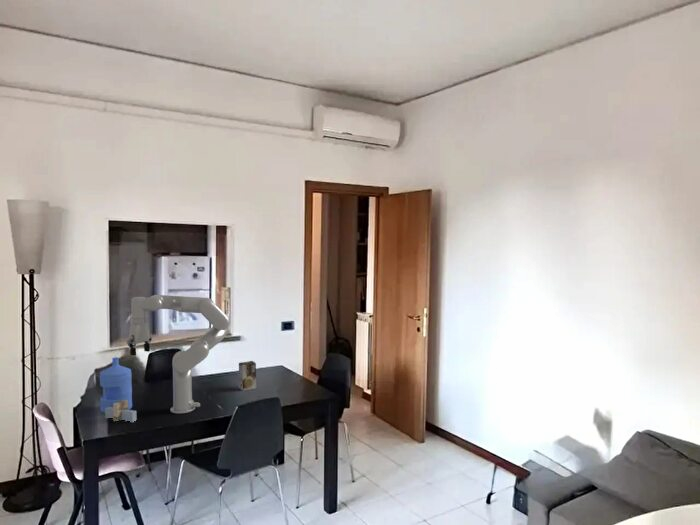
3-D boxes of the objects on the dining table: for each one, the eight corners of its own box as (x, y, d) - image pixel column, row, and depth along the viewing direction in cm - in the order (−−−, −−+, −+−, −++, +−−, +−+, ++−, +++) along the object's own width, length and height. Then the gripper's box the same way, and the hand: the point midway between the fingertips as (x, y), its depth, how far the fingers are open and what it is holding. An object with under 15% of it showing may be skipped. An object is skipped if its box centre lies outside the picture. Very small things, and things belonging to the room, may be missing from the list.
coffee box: (252, 386, 317) (252, 360, 316) (256, 388, 311) (256, 362, 311) (238, 388, 312) (238, 362, 311) (242, 391, 306) (242, 364, 306)
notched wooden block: (124, 416, 262) (123, 399, 262) (128, 417, 261) (127, 400, 261) (113, 421, 256) (113, 403, 255) (117, 421, 255) (117, 404, 254)
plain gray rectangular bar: (136, 420, 256) (136, 410, 256) (132, 422, 254) (132, 412, 254) (109, 416, 263) (109, 406, 262) (105, 418, 260) (104, 408, 260)
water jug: (120, 403, 284) (119, 353, 283) (138, 407, 276) (137, 356, 275) (94, 411, 271) (92, 359, 270) (112, 416, 263) (111, 362, 262)
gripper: (145, 317, 273) (146, 349, 274) (121, 322, 257) (121, 356, 258) (157, 318, 271) (157, 350, 271) (132, 323, 254) (133, 357, 255)
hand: (140, 353), depth 265 cm, fingers open, 9 cm apart
